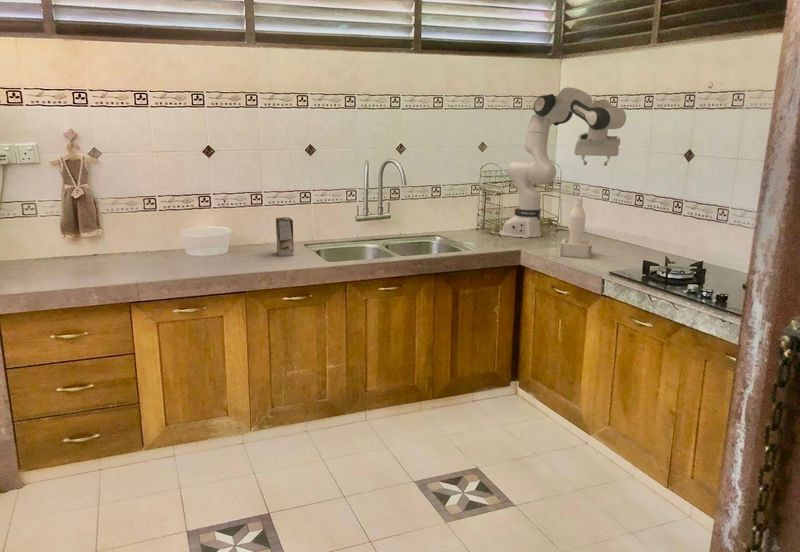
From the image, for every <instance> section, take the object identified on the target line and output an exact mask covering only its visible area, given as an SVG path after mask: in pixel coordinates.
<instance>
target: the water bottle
mask: <svg viewBox="0 0 800 552" xmlns="http://www.w3.org/2000/svg"><path fill="white" fill-rule="evenodd" d="M568 217H569V222H568V232H569V239H570V240H569V243H568V244H581V245H582V240H583V234H584V232H585V230H586V229H585V227H586V213H585V210H584V208H583V198H580V197H578V198H577V197H576V198H575V202H574V207H573V209H572V210H571V212H570V214H569V216H568Z"/></svg>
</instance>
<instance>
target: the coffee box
mask: <svg viewBox="0 0 800 552" xmlns="http://www.w3.org/2000/svg"><path fill="white" fill-rule="evenodd" d="M275 231H276V232H275V233H276V252H277V254H278V255H279V257H288V256H294V253H295V251H294V249H295V248H294V220H293V219H292V218H291V217H288V216H287V217H285V216H284V217H275Z"/></svg>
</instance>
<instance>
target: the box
mask: <svg viewBox="0 0 800 552" xmlns="http://www.w3.org/2000/svg"><path fill="white" fill-rule="evenodd" d="M569 240H570V238H566V237H565V238H563V239H562V241H561V243H560V253H559V255H560V257H562V256H566V257H565V258H574V257H577V258H578V259H587V258H589V259H591V256H592V253H593V252H592V251H593V240H592V239H582V245H581V244H568V243H569ZM577 258H576V259H577ZM589 259H588V260H589Z"/></svg>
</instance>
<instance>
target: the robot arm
mask: <svg viewBox="0 0 800 552" xmlns="http://www.w3.org/2000/svg"><path fill="white" fill-rule="evenodd" d="M533 110H534V111H533V112H534V114H533V115H532V116H531V118H530V120H529V124H528V127H527V132H526V137H525V138H526V139H525V144H524V149H525V150H526V152H527V153H528V154H529V155H532V157H533V159H532V160H522V159H521V160H515V161H512V162H510V163H509V165H508V167H507V176H508V178H509V179H510V181H512V182H513V183H514V184H515V187H516V188H517V192H518V207H516V208H514V215H513V216H511V217H510V218H508V219H507V220H506V221H505V222H504V223H503V227H502V229H501V230H499V231H500V233H499V232H498V233H499V234H500V235H499V234H498V235H499V236H503V237H512V238H513V237H514V238H520V237H522V238H523V239H529V237H530V238H538V237H541V236H542V232H541V225H540V223H541V221H540V220H541V217H542V216H541V214H542V213H541V212H542V210H541V196H542V195H541V194H540V191H538V190H536V189H535V188H534V187H533V185H532V183H533V184H534V183H536V184H538V183H539V184H546V183H551V182H553V181H554V180H555V178H556V177H557V168H556V166H555V164H554V163H553V162H551V160H550V158H549V155H548V151H547V150H548V140H549V135H550V128H551V126H552V125H553V126H558V125H561V124H565V123H568V122H569V121H570V120H571V119H572V118H573V114H574V115H575V116H576V117H579V118H580V119H582V120H583V121H584V122H585V123H587V125H588V128H587V129H588V130H587V132H584V133H580V134H579V135H578V136H577V139H578V140H577V141H576V143H575V146H574V155H575V156H581V159H582V161H583V164H582V165H583V166H587V165H588V161H587V160H585V157H586V156H592V157H593V156H597V157H603V156H604V157H606V159H607V160H606V161H604V162H603V166H604V167H607V166H608V162H609V161H610V160H611V157H617V156H618V155H619V151H620V150H619V146H620V144H621V138H620V137H618V136H617V135H616V136H614V135H613V136H612V135H608V132H609V130H618V129H621V128H623V127H624V125H625V123H626V121H627V116H626V115H627V114H626V112H625V110H624V109H623V108H620V107H617V106H615V105H614V104H611V103H610V101H609V100H607V99H604V100H603V99H601V100H596V101H593V98H592V95H590V94H589V93H587V92H585V91H583V90H581V89H578V88H575V87H568V86H567V87H564V88H562V89H561V90H560V91H559V93H558V94H557V95H555V94H552V93H550V94H543V95H540V96H539V97H537V98H536V99H535V102H534V104H533Z"/></svg>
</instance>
